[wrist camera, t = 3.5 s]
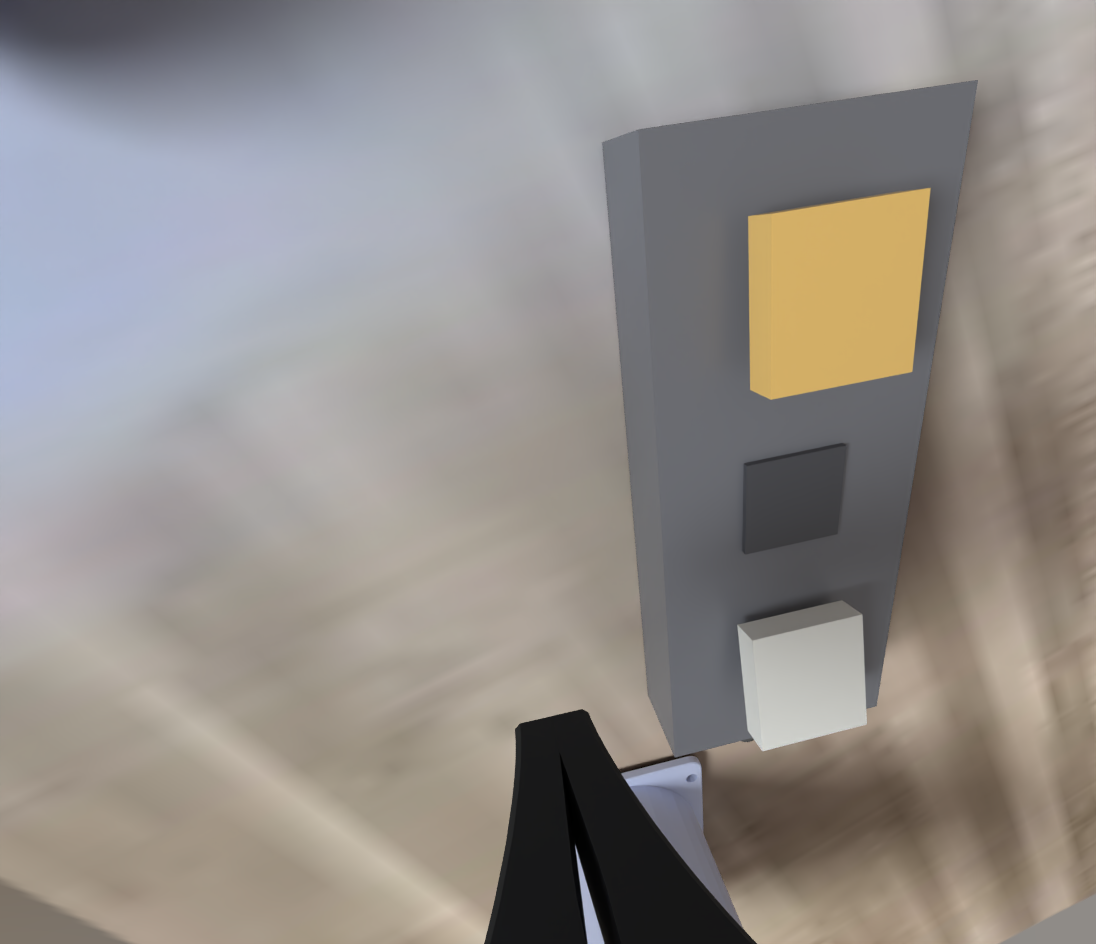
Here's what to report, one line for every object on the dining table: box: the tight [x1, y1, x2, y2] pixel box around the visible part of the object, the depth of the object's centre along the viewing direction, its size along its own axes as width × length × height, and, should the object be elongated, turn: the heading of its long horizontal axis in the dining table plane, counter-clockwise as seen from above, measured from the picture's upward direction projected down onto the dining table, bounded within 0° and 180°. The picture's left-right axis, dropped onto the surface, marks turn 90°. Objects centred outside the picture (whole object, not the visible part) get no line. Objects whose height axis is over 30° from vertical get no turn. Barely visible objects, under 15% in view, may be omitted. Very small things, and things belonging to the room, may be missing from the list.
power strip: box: [602, 80, 978, 757], centre depth 19 cm, size 23×8×3 cm, turn 8°
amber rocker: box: [748, 188, 931, 400], centre depth 13 cm, size 4×4×1 cm
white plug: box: [737, 600, 867, 751], centre depth 19 cm, size 4×4×1 cm
